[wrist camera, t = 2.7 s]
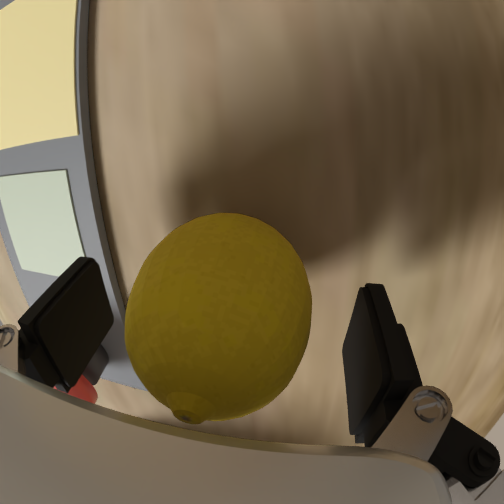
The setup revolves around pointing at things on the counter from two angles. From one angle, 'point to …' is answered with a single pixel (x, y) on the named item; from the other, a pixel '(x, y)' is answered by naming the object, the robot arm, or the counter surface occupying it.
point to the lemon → (218, 318)
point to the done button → (83, 390)
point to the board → (53, 163)
